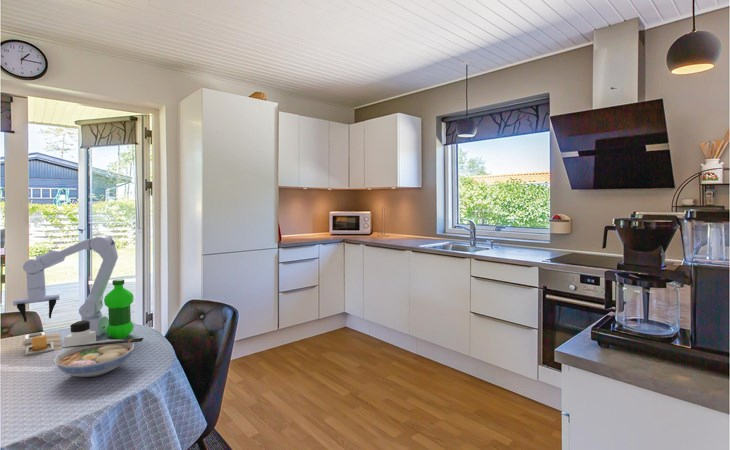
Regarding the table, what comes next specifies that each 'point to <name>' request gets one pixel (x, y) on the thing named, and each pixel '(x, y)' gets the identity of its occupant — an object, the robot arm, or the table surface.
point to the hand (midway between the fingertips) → (38, 319)
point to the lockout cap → (39, 342)
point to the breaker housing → (28, 339)
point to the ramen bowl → (94, 357)
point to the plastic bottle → (119, 310)
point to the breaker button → (35, 334)
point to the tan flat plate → (50, 338)
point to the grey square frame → (39, 350)
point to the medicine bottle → (80, 334)
